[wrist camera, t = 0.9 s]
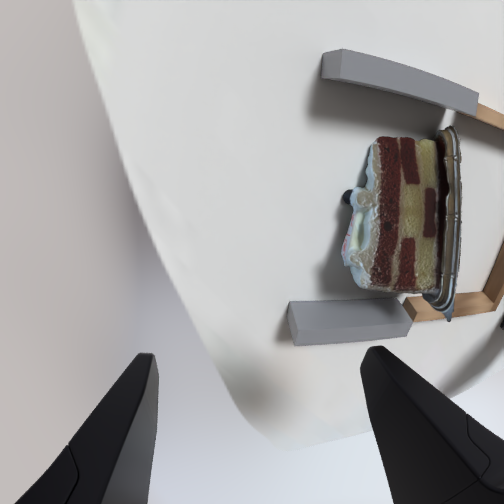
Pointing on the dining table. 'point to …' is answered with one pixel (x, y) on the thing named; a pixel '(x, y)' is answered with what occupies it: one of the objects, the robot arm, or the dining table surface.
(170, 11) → the dining table surface
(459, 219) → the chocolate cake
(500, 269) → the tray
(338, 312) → the bay
